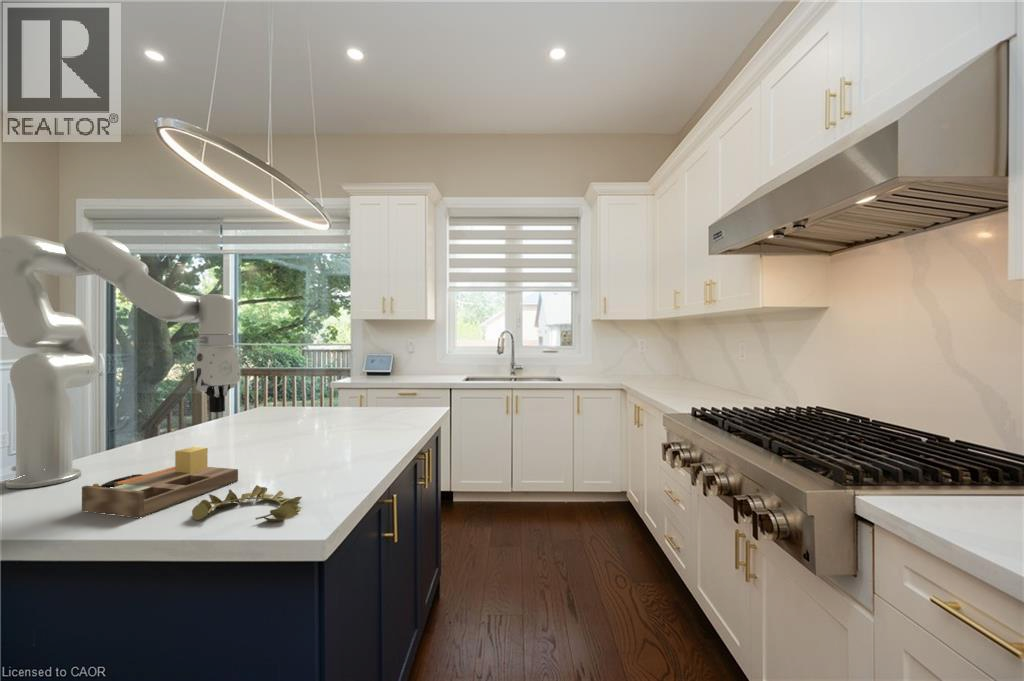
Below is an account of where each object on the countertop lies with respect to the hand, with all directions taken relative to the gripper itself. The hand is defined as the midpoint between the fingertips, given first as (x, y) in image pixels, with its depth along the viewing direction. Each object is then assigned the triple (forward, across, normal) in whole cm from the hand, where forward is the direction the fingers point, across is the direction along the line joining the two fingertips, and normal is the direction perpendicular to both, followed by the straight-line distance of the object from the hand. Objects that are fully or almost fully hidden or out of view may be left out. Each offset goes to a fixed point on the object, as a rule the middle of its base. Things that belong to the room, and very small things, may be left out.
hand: (217, 411), depth 113 cm
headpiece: (+17, -18, -29) cm, 38 cm away
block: (+13, -7, 0) cm, 15 cm away
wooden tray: (+16, -15, -3) cm, 23 cm away
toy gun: (+17, -9, +14) cm, 23 cm away
